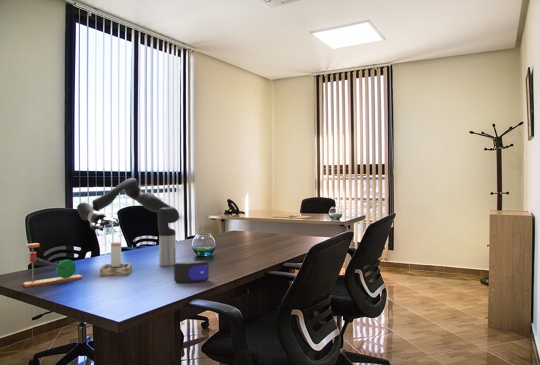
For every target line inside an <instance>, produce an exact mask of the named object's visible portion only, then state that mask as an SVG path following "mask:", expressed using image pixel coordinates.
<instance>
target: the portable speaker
mask: <svg viewBox="0 0 540 365" xmlns="http://www.w3.org/2000/svg"><path fill="white" fill-rule="evenodd" d="M173 277H174V278H173V280H174V282H175V283H177V284H192V283H193V284H194V283H203V282H206V281H208V280H209V277H210V276H209V262H208V261H205V260H203V261H185V262H184V261H181V262H176V263H175V264H174V265H173Z"/></svg>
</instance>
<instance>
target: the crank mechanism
mask: <svg viewBox="0 0 540 365" xmlns="http://www.w3.org/2000/svg"><path fill="white" fill-rule="evenodd" d="M40 245H41V244H40V243H38V242H34V243H26V245H25V246H26V248H27V249H31V251H30V252H29V253H28V254H29V263H32V264H31V271H32V272H31V276H32V277H31V281H24V282H23V285H24V286H25V287H24V286H23V285H22V286H23V287H24V288H26V287H28V288H32V287H31V286H35V287H40V286H39V285H41V286H46V285H47V284H48V285H52V284H60V283H66V282H72V281H79V280H83V279H84V278H83V275H82V274H75V272H76V270H77V268H76V267H77V266H76V263H75V262H74V261H73V260H71V259H65V260H62V261H60V262H59V263H58V264H56V263H54V262H50V261H48V260H45V259H43V258H40V257H37V251H34V250H35V248H40ZM37 261H40V262H43V263H45V264H48V265H51V266H54V267H56V270H55V271H56V274H57V276H58V277H52V278H45V279H39V280H38V279H37V280H34V278H35V275H34V269H35V268H34V263H36V262H37Z"/></svg>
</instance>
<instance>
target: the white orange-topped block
mask: <svg viewBox="0 0 540 365" xmlns="http://www.w3.org/2000/svg"><path fill="white" fill-rule="evenodd" d="M110 260H111V261H110V264H111V267H119V266H121V263H122V242H121V241H117V242H111V243H110Z"/></svg>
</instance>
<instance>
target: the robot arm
mask: <svg viewBox="0 0 540 365" xmlns="http://www.w3.org/2000/svg"><path fill="white" fill-rule="evenodd" d="M123 191H124V193H125V195H126V196H127V197H129V198H130V199H132V200H134V201H136V202H137V203H138V204H140V205H141V206H142V207H144V208H145V209H146V210H148V211H150V212H154V213H157V230H158V234H159V235H158V237H159V238H158V243H159V244H158V245H159V248H158V249H159V250H158V253H159V254H158V256H159V258H158V262H159V264H158V265H159V266H160V267H171V266H174V264H175V263H177V262H176V261H177V260H176V259H177V258H176V254H177V252H176V249H177V248H176V247H177V246H176V244H177V242H176V233H177V232H176V230H175V229H173V228H171V227H170V226H169V225H170V224H174V223H176V222H178V220H179V218H180V213H179V211H178V210H177V209H176V208H175V207H174V206H172V205H170V204H167V203H166V202H164V201H163V200H161V199H160V198H158V197H157V196H156V195H155V194H153V193H152V192H150V191H149V192H148V191H147V192H143V191H142V190H141V189H140V184H139V182H138V180H137V179H136V178H134V177H130V178H127V179H125V180H123V181H122V182H121V183H119V184H117V185H116V186H114V188H112V189H111V190H109V191H108V192H107V193H104V194H103V195H101V196H99V197H97V198H95V199H94V200H92V204H89V203H88V202H81V203H79V204H78V205H77V207H76V210H77V213H78V214H79V217H80V218H81V220H83V221H88V222H89V227H90V229H92V230H93V231H97V230H98V231H101V232H103V231H104V227H105V226H111V225H114V226H116V227H119V222H120V221H119V218H118V217H115V216H111V218H109V217H107V216H106V215H105V214H103V213H101V212H100V211H101V210H103V209H104V208H106V207H108V206H109V205H111V204H112V203H113V202H114V200H116V198H117V197H118V196H119V194H120V193H121V192H123Z"/></svg>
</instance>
